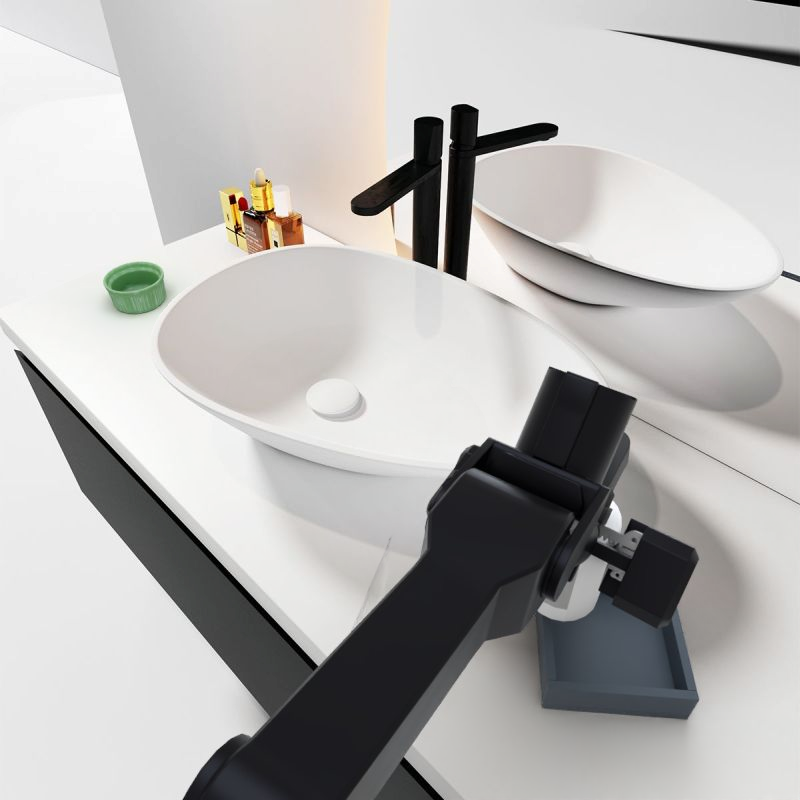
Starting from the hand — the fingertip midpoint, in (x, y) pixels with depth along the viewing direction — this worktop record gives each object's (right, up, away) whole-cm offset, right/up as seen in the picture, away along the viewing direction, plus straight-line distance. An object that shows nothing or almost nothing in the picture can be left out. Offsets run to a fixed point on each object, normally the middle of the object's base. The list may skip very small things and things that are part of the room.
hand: (580, 527), depth 60 cm
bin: (+4, -12, +6) cm, 14 cm away
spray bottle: (-1, -7, +4) cm, 8 cm away
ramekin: (-57, +27, +50) cm, 80 cm away
